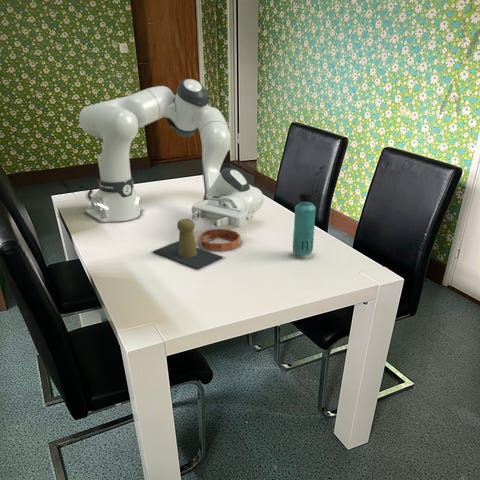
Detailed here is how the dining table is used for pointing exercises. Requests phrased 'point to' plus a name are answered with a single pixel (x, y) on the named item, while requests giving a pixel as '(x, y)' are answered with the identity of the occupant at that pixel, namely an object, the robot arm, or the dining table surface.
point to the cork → (186, 238)
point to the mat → (194, 262)
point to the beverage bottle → (304, 225)
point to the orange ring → (222, 233)
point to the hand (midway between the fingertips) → (204, 220)
